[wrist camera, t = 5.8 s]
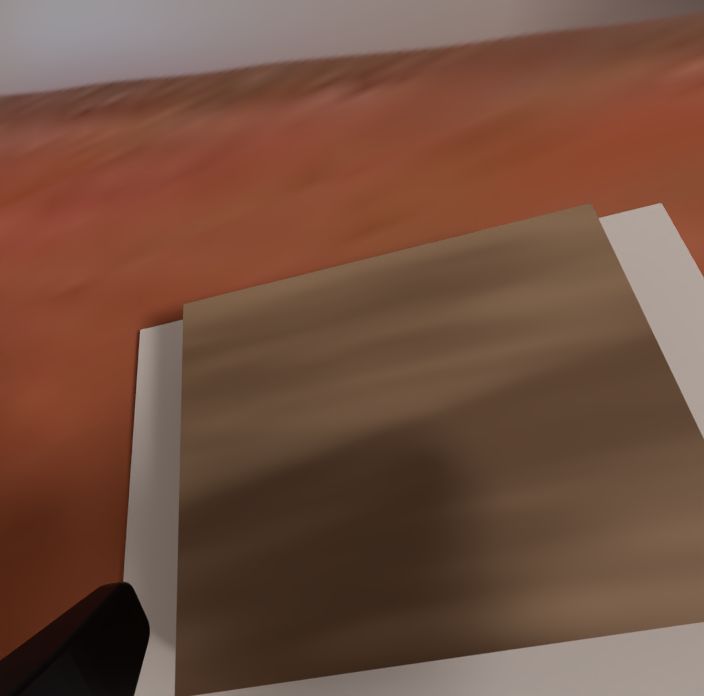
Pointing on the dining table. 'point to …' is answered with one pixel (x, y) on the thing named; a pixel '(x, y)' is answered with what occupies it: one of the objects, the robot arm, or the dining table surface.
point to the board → (431, 462)
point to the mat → (456, 673)
